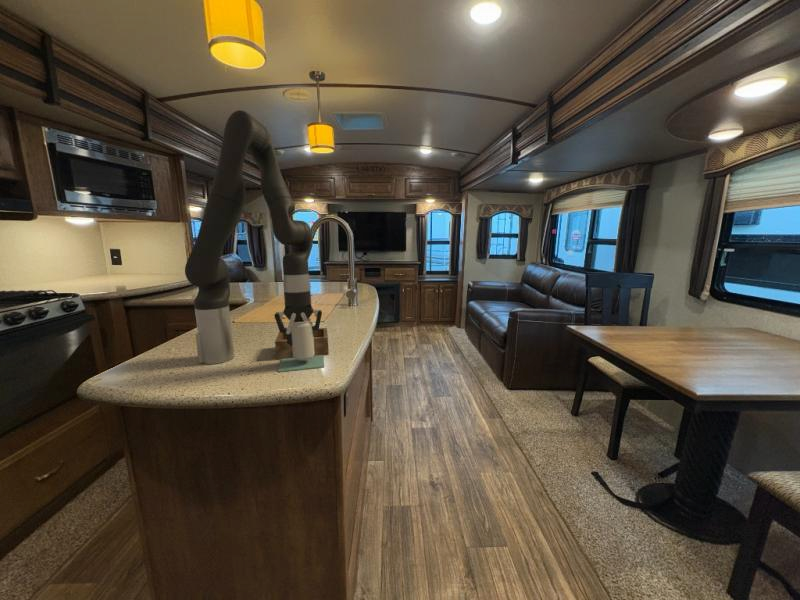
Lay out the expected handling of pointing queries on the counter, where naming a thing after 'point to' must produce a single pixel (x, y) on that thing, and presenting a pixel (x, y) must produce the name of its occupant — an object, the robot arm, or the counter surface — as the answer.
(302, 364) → the rubber mat
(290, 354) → the walnut holder
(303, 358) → the beverage can
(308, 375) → the counter surface
